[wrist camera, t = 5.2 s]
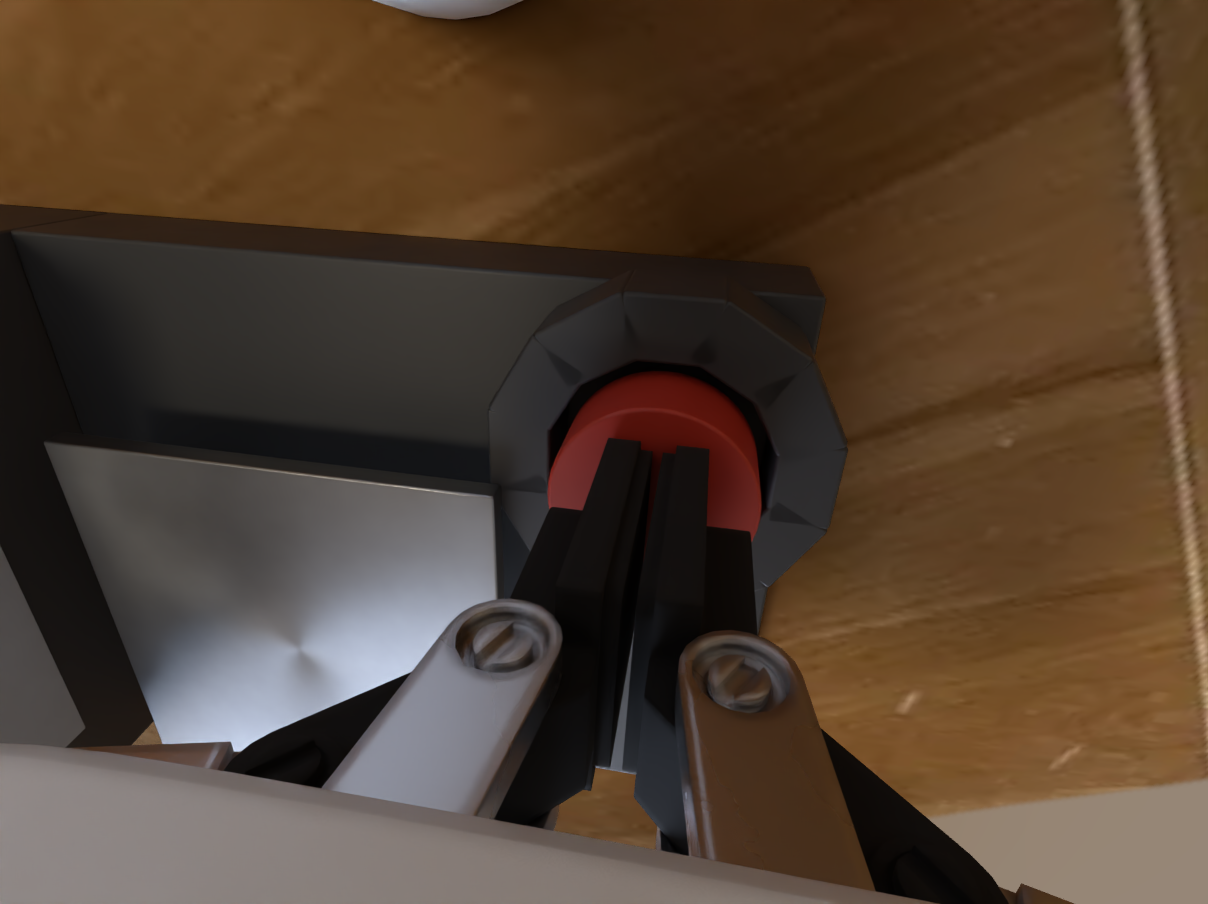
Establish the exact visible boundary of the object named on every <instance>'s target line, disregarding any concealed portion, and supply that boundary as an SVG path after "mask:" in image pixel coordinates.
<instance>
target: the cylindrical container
mask: <svg viewBox="0 0 1208 904" xmlns="http://www.w3.org/2000/svg"><path fill="white" fill-rule="evenodd" d="M373 1H376V2H379V3H382V4H385V5H389V6H392V7H395V8H398V9H401V10H404V11H407V12H411V13H414V14H417V15H420V16H423V17H434V18H444V19H454V20H457V19H464V18H470V17H477V16H484V15H490V14H492V13H495V12H497V11H500V10H502V9H504V8H507V7H509V6H511V5H514V4H516V3H518V2H521V1H523V0H373Z"/></svg>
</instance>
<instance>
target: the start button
mask: <svg viewBox="0 0 1208 904" xmlns="http://www.w3.org/2000/svg"><path fill="white" fill-rule="evenodd" d="M608 438H616V439H625V440H634V441H641V450H647V451H653V457H652V469H651V480H650V492H649V503H648V514H647V525H646V536H645V548H644V556H645V550H646V544H647V539H648V533H649V527H650V522H651V516H652V511H653V505H654V499H655V494H656V488H657V483H658V477H659V471H660V466H661V460H662V455H663V452H665V453H673V454H676V448H677V445H679V446H688V447H697V448H706V449H710V452H709V478H708V503H707V526H712V527H720V528H728V529H736V530H744V531H749V532H750V534H751V542H752V541H753V538H754V536H755V534H756V532H757V529H758V525H759V522H760V517H761V508H762V503H761V489H760V479H759V469H758V459H757V449H756V444H755V439H754V436H753V433H752V430H751V428H750V426H749V424H748V422H747V420H746V418H745V416H744V415H743V414H742V412H741V411H740V410H739V408H738V407H737V406H736V405H735V404H734V403H733V402H732V401H731V400H730V399H729V398H728V397H727V396H726V395H725V394H724V393H722V392H721V391H720V390H718V389H717V388H715V387H713V386H712V385H710V384H708V383H707V382H704V381H702V380H700V379H697V378H695V377H692V376H689V375H685V374H682V373H676V372H669V371H647V372H640V373H635V374H630V375H627V376H624V377H622V378H619V379H616V380H614V381H612V382H610V383H609V384H607V385H605V386H604V387H602V388H601V389H599V390H598V391H596V392H595V393H594V394H593V395H592V396H591V397H590V398H589V399H588V400H587V401H586V402H585V403H584V405H583V406H582V407H581V408H580V410H579V412H578V413H577V415H576V417H575V418H574V421H573V423H572V425H571V427H570V429H569V431H568V433H567V435H566V437H565V439H564V441H563V444H562V446H561V448H560V450H559V452H558V454H557V456H556V458H555V461H554V463H553V466H552V468H551V472H550V476H549V480H548V492H547V493H548V505H549V509H550V508H551V507H560V508H568V509H576V510H583V507H584V504H585V502H586V499H587V496H588V493H589V490H590V488H591V485H592V482H593V479H594V476H595V474H596V471H597V468H598V465H599V462H600V460H601V457H602V454H603V451H604V448H605V446H606V443H607V440H608ZM643 561H644V559H643Z"/></svg>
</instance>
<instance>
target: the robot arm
mask: <svg viewBox="0 0 1208 904" xmlns="http://www.w3.org/2000/svg"><path fill="white" fill-rule="evenodd" d="M709 452H710V449H706V448H697V447H688V446H679V445H677V448H676V454H673V453H665V452H663V455H662V460H661V466H660V471H659V477H658V483H657V488H656V494H655V499H654V505H653V511H652V516H651V522H650V527H649V533H648V539H647V544H646V550H645V556H644V548H645V536H646V525H647V514H648V503H649V492H650V480H651V469H652V457H653V451H647V450H641V441H634V440H625V439H616V438H608V440H607V443H606V446H605V448H604V451H603V454H602V457H601V460H600V462H599V465H598V468H597V471H596V474H595V476H594V479H593V482H592V485H591V488H590V490H589V493H588V496H587V499H586V502H585V504H584V507H583V510H576V509H568V508H560V507H551V508H550V509H549V511H548V513H547V515H546V517H545V520H544V522H543V524H542V526H541V529H540V531H539V533H538V536H537V538H536V540H535V542H534V545H533V547H532V549H531V551H530V554H529V556H528V558H527V560H526V563H525V565H524V567H523V569H522V572H521V574H520V576H519V579H518V581H517V583H516V585H515V588H514V590H513V592H512V594H511V597H510V599H496V600H490V601H486V602H483V603H479V604H476V605H474V606H472V607H470V608H468V609H466V610H465V611H463V612H461V613H460V614H459V615H458V616H457V617H456V618H455V619H454V620H452V621H451V622H450V623H449V625H448V626H447V627H446V629H445V630H444V631H443V632H442V634H441V635H440V636H439V638H438V639H437V640H436V641H435V643H434V644H433V645H432V647H431V648H430V649H429V650H428V652H427V653H426V654H425V656H424V657H423V658H422V659H421V661H420V662H419V663H418V665H417V666H416V667H415V668H414V670H413V671H412V672H410V673H408V674H405V675H403V676H401V677H398V678H396V679H394V680H391V681H389V682H387V683H384V684H382V685H380V686H377V687H375V688H373V689H370V690H368V691H366V692H364V693H361V694H359V695H357V696H354V697H352V698H350V699H347V700H345V701H343V702H340V703H338V704H336V705H333V706H331V707H329V708H326V709H324V710H322V711H319V712H317V713H315V714H312V715H310V716H308V717H305V718H303V719H301V720H298V721H296V722H294V723H291V724H289V725H287V726H284V727H282V728H280V729H277V730H275V731H273V732H271V733H269V734H267V735H265V736H264V737H262V738H260V739H258V740H256V741H254V742H253V743H251V744H250V745H248V746H247V747H246V748H245V749H244V750H242V751H234V750H233V747H232V743H231V742H206V743H180V744H154V745H129V746H103V747H77V748H62V747H53V746H44V745H32V744H6V743H0V904H1074V903H1071V902H1069V901H1066V900H1063V899H1061V898H1058V897H1055V896H1053V895H1050V894H1048V893H1045V892H1042V891H1040V890H1037V889H1034V888H1032V887H1029V886H1027V885H1024V884H1021V885H1020V887H1019V889H1018V890H1017V892H1016V893H1014V892H1011V891H1009V890H1006V889H1003V888H1001V887H998V885H997V884H996V882H995V881H994V879H993V878H992V876H991V875H990V874H989V873H988V872H987V871H986V870H985V869H984V868H983V867H982V866H981V865H980V864H979V863H978V862H977V861H976V860H975V859H974V858H973V857H972V856H971V855H970V854H969V853H968V852H966V851H965V850H964V849H963V848H962V847H961V846H959V845H958V844H957V843H956V842H955V841H954V840H952V839H951V838H950V837H949V836H948V835H946V834H945V833H944V832H943V831H942V830H941V829H939V828H938V827H937V826H936V825H935V824H933V823H932V822H931V821H930V820H929V819H928V818H926V817H925V816H924V815H923V814H922V813H920V812H919V811H918V810H917V809H916V808H914V807H913V806H912V805H911V804H910V803H909V802H907V801H906V800H905V799H904V798H903V797H901V796H900V795H899V794H898V793H897V792H896V791H894V790H893V789H892V788H891V787H890V786H888V785H887V784H886V783H885V782H884V781H883V780H881V779H880V778H879V777H878V776H877V775H875V774H874V773H873V772H872V771H871V770H870V769H868V768H867V767H866V766H865V765H864V764H862V763H861V762H860V761H859V760H858V759H857V758H855V757H854V756H853V755H852V754H851V753H849V752H848V751H847V750H846V749H845V748H843V747H842V746H841V745H840V744H839V743H838V742H836V741H835V740H834V739H833V738H832V737H830V736H829V735H828V734H827V733H826V732H825V731H823V730H822V729H821V728H820V726H819V723H818V720H817V717H816V714H815V711H814V708H813V705H812V702H811V699H810V696H809V693H808V690H807V687H806V684H805V681H804V678H803V676H802V674H801V672H800V670H799V668H798V666H797V665H796V663H795V661H794V660H793V659H792V658H791V657H790V656H789V655H788V654H787V653H786V652H785V651H784V650H783V649H782V648H780V647H778V646H777V645H775V644H774V643H772V642H770V641H769V640H767V639H765V638H762V637H759V636H758V632H757V617H756V602H755V588H754V573H753V558H752V543H751V534H750V532H749V531H744V530H736V529H728V528H720V527H712V526H707V503H708V478H709ZM643 559H644V561H643ZM633 633H634V637H633ZM632 639H633V648H632V660H631V671H630V683H629V695H628V706H627V718H626V729H625V741H624V753H623V764H622V770H623V771H629V772H635V773H636V781H635V791H634V798H635V799H636V800H637V802H638V803H639V804H640V805H641V806H642V808H643V809H644V810H645V811H646V813H647V814H648V815H649V816H650V818H651V819H652V820H653V821H654V823H655V824H656V825H657V826H658V827H657V836H656V850H654V849H649V848H643V847H638V846H633V845H627V844H622V843H617V842H611V841H606V840H600V839H595V838H590V837H584V836H579V835H574V834H568V833H563V832H557V831H553V830H554V828H555V825H556V821H557V817H558V812H559V804H561V803H562V802H564V801H565V800H567V799H569V798H570V797H572V796H574V795H575V794H577V793H578V792H580V791H582V790H588V791H591V788H592V783H593V778H594V773H595V767H596V766H600V767H606V768H610V765H611V760H612V755H613V749H614V743H615V737H616V731H617V726H618V720H619V714H620V708H621V703H622V697H623V691H624V685H625V679H626V674H627V668H628V662H629V656H630V650H631V645H632Z"/></svg>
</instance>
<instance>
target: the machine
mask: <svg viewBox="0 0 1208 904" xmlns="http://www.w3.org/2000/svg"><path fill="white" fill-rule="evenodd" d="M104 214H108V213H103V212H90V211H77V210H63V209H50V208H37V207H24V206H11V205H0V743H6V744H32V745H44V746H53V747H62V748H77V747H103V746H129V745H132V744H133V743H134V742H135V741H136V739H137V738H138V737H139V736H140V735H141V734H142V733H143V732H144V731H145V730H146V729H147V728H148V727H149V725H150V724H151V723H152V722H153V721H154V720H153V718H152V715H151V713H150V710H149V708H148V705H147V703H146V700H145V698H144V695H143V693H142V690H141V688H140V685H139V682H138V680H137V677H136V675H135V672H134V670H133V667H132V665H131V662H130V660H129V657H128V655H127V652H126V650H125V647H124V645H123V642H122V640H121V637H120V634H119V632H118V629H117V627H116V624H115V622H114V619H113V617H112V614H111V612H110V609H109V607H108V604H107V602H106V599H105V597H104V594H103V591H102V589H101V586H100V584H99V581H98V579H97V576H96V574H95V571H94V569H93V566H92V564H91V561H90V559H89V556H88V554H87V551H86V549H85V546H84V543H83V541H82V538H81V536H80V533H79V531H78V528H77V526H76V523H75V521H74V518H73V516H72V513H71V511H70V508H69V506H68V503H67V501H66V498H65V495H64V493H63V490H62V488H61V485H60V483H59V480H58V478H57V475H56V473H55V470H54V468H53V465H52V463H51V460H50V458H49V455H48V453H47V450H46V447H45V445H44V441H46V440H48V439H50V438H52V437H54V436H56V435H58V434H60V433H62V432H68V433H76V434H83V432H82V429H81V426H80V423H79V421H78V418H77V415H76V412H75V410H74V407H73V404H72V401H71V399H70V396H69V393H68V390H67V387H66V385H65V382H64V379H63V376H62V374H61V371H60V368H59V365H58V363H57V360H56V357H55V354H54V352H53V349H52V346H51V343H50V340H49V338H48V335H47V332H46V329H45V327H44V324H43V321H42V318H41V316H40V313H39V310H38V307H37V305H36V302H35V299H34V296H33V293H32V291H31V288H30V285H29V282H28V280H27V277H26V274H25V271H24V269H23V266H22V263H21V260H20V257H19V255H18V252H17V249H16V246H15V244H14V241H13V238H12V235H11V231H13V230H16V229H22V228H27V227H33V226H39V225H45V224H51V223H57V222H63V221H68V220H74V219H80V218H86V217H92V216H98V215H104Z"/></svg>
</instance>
